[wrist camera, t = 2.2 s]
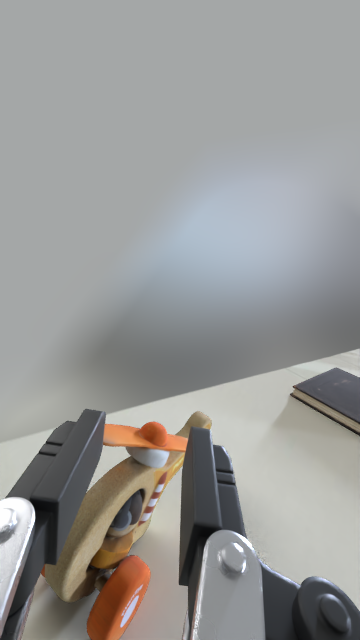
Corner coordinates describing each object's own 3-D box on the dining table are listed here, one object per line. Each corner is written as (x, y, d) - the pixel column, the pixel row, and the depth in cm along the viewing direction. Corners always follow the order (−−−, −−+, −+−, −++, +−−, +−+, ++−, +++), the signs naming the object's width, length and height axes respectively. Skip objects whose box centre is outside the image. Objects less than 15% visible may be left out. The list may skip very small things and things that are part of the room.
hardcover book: (290, 395, 56) (293, 385, 55) (333, 374, 70) (336, 367, 70) (376, 445, 44) (381, 434, 44) (406, 408, 59) (410, 399, 58)
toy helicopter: (16, 590, 20) (13, 445, 16) (170, 442, 37) (187, 355, 33) (86, 696, 16) (105, 538, 12) (222, 475, 33) (248, 381, 29)
